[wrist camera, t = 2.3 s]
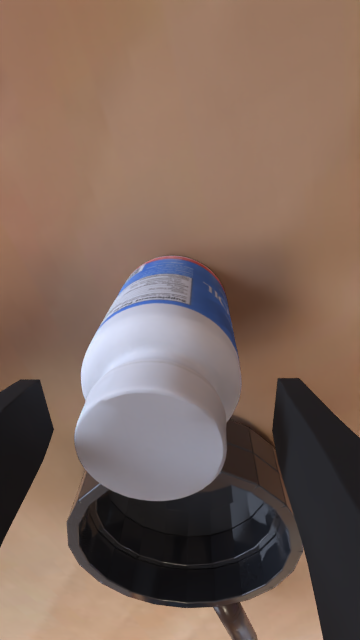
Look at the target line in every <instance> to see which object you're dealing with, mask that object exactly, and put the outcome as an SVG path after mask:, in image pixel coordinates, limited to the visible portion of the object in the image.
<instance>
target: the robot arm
mask: <svg viewBox="0 0 360 640" xmlns="http://www.w3.org/2000/svg"><path fill="white" fill-rule="evenodd" d="M53 430H54V428H53V425H52V421H51V418H50V414H49V411H48V407H47V404H46V400H45V397H44V393H43V390H42V386H41V383H40V380H19V381H17V382H16V383H14V384H12V385H11V386H9V387H8V388H6V389H5V390H3V391H2V392H0V547H1V544H2V542H3V540H4V538H5V536H6V534H7V532H8V530H9V528H10V526H11V524H12V522H13V520H14V518H15V516H16V514H17V512H18V510H19V508H20V506H21V504H22V502H23V500H24V498H25V496H26V494H27V492H28V490H29V488H30V486H31V484H32V482H33V480H34V478H35V476H36V474H37V472H38V470H39V468H40V466H41V464H42V462H43V459H44V457H45V454H46V451H47V448H48V446H49V443H50V440H51V436H52V433H53ZM272 432H273V438H274V443H275V449H276V455H277V460H278V465H279V468H280V471H281V475H282V478H283V481H284V485H285V488H286V491H287V495H288V498H289V501H290V504H291V508H292V511H293V514H294V517H295V521H296V524H297V527H298V531H299V534H300V537H301V540H302V544H303V547H304V551H305V555H306V559H307V563H308V567H309V572H310V577H311V581H312V586H313V591H314V595H315V600H316V605H317V610H318V615H319V620H320V625H321V630H322V635H323V640H360V438H359V437H358V436H357V435H356V434H355V433H354V432H352V431H351V430H350V429H349V428H348V427H347V426H346V425H345V424H344V423H343V422H342V421H341V420H340V419H339V418H338V417H337V416H336V415H335V414H334V413H333V412H332V411H331V410H330V409H329V408H328V407H327V406H326V405H325V404H324V403H323V402H322V401H321V400H320V399H319V398H318V397H317V396H316V395H315V394H314V393H313V392H312V391H311V390H310V389H309V388H308V387H307V386H306V385H305V384H304V383H303V382H302V381H301V380H300V379H299V378H278V381H277V391H276V400H275V410H274V419H273V429H272Z"/></svg>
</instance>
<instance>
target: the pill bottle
mask: <svg viewBox="0 0 360 640" xmlns="http://www.w3.org/2000/svg"><path fill="white" fill-rule="evenodd" d="M81 385H82V391H83V395H84V398H85V400H86V402H85V405H84V407H83V409H82V412H81V414H80V417H79V419H78V422H77V425H76V429H75V436H74V441H75V449H76V452H77V455H78V458H79V460H80V462H81V464H82V465H83V467H84V468H85V469H86V471H87V472H88V473H89V474H90V475H91V476H92V477H93V478H94V479H95V480H96V481H98V482H99V483H100V484H102V485H103V486H105V487H107V488H108V489H110V490H112V491H113V492H116V493H119V494H121V495H124V496H127V497H130V498H135V499H139V500H147V501H168V500H175V499H180V498H183V497H187V496H189V495H192V494H194V493H196V492H198V491H200V490H202V489H204V488H205V487H206V486H207V485H209V484H210V483H211V482H212V481H213V480H214V479H215V478H216V477H217V476H218V474H219V473H220V471H221V469H222V467H223V465H224V462H225V459H226V452H227V440H226V423H227V422H228V420H229V419H230V417H231V416H232V414H233V412H234V410H235V408H236V406H237V404H238V401H239V398H240V393H241V386H242V379H241V369H240V363H239V357H238V352H237V347H236V343H235V337H234V332H233V328H232V323H231V318H230V312H229V307H228V302H227V297H226V294H225V291H224V288H223V286H222V284H221V282H220V281H219V279H218V278H217V277H216V275H215V274H214V273H213V272H212V271H211V270H210V269H209V268H207V267H206V266H205V265H203V264H202V263H200V262H198V261H196V260H193V259H190V258H187V257H182V256H163V257H158V258H155V259H152V260H150V261H147V262H146V263H144V264H142V265H141V266H139V267H138V268H137V269H136V270H135V271H134V272H133V273H132V274H131V275H130V277H129V278H128V279H127V281H126V282H125V284H124V285H123V287H122V289H121V291H120V292H119V294H118V296H117V298H116V299H115V301H114V302H113V304H112V306H111V308H110V309H109V311H108V313H107V314H106V316H105V318H104V320H103V322H102V323H101V325H100V327H99V328H98V330H97V332H96V334H95V335H94V337H93V339H92V341H91V343H90V345H89V347H88V349H87V351H86V354H85V357H84V360H83V364H82V369H81Z"/></svg>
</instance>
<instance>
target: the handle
mask: <svg viewBox="0 0 360 640" xmlns="http://www.w3.org/2000/svg"><path fill="white" fill-rule="evenodd" d="M213 608H214V610H215V611H216V613H217V615H218V616H219V618H220V620H221V622H222V623H223V625H224V627H225V628H226V630H227V632H228V634H229V635H230V637H231V639H232V640H258V639H257V635H256V633H255V631H254V629H253V627H252V625H251V623H250V621H249V619H248V617H247V615H246V613H245V611H244V609H243V607H242V605H241V603H240V602H237V603H233V604H228V605H224V606H218V607H213Z"/></svg>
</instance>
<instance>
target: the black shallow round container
mask: <svg viewBox="0 0 360 640" xmlns="http://www.w3.org/2000/svg"><path fill="white" fill-rule="evenodd" d="M226 440H227V452H226V459H225V462H224V465H223V467H222V469H221V471H220V473H219V474H218V476H217V477H216V478H215V479H214V480H213V481H212V482H211V483H210V484H209V485H207V486H206V487H205V488H204V489H202V490H200V491H198V492H196V493H194V494H192V495H189V496H187V497H183V498H180V499H175V500H168V501H147V500H139V499H135V498H130V497H127V496H124V495H121V494H119V493H116V492H113V491H112V490H110V489H108V488H107V487H105V486H103V485H102V484H100V483H99V482H98V481H96V480H95V479H94V478H93V477H92V476H91V475H90V474H89V473H88V472H87V471H86V469H85V472H84V475H83V477H82V480H81V483H80V486H79V489H78V491H77V494H76V497H75V500H74V503H73V506H72V508H71V511H70V514H69V517H68V520H67V534H68V546H69V548H70V550H71V551H72V553H73V555H74V556H75V558H76V560H77V562H78V563H79V565H81V567H83V568H84V569H85V570H86V571H87V572H88V573H89V574H91V575H92V576H93V577H94V578H95V579H96V580H98V581H99V582H100V583H102V584H104V585H106V586H108V587H110V588H112V589H114V590H116V591H118V592H119V593H121V594H123V595H126V596H128V597H131V598H135V599H138V600H142V601H145V602H149V603H152V604H156V605H165V606H173V607H182V608H198V607H218V606H224V605H228V604H233V603H237V602H242V601H246V600H249V599H251V598H254V597H256V596H258V595H260V594H262V593H265V592H267V591H269V590H271V589H273V588H275V587H276V586H277V585H278V584H279V583H280V582H282V581H283V580H284V579H285V578H286V577H287V576H289V575H290V574H291V573H292V572H293V571H294V569H295V567H296V565H297V563H298V561H299V559H300V557H301V554H302V552H303V544H302V540H301V537H300V534H299V531H298V527H297V524H296V521H295V517H294V514H293V511H292V508H291V504H290V501H289V498H288V495H287V491H286V488H285V485H284V481H283V478H282V475H281V471H280V468H279V465H278V460H277V455H276V451H275V450H274V448H273V446H272V445H271V444H270V443H268V442H267V441H266V440H264V439H263V438H262V437H261V436H259V435H258V434H257V433H256V432H254V431H253V430H252V429H250V428H249V427H247V426H245V425H242V424H240V423H237V422H235V421H232V420H230V419H229V420H228V422H227V423H226Z"/></svg>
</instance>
